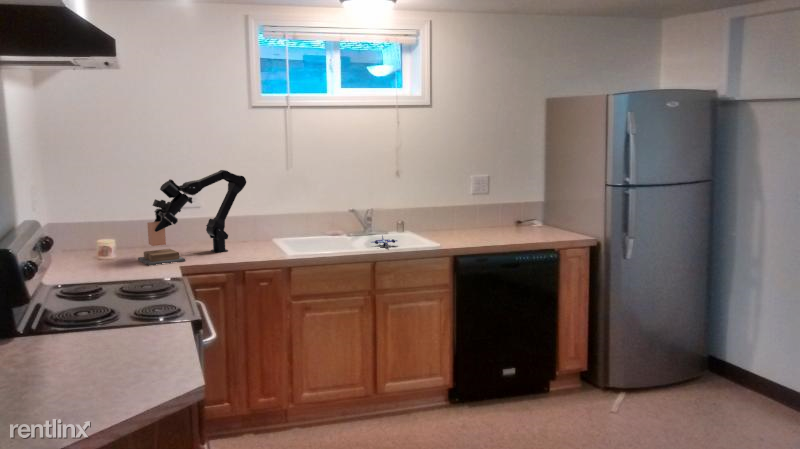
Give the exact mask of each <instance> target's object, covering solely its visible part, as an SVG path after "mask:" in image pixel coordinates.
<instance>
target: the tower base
mask: <svg viewBox="0 0 800 449" xmlns="http://www.w3.org/2000/svg"><path fill="white" fill-rule="evenodd" d="M137 259H138V261H139V262H141V263H144V264H145V265H147V264H148V265H147V266H149V265H153V266H157V265H156V264H161V265H163V264H162V263H169V264H172V263H171V262H177V263H183V262H186V258H184V257H182V256H180V252H179V251H177V250H173V249H171V248H165V249H155V250H154V249H153V250H146V251H143V256H140V257H137Z"/></svg>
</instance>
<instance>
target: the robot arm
mask: <svg viewBox="0 0 800 449" xmlns="http://www.w3.org/2000/svg"><path fill="white" fill-rule="evenodd" d="M223 180H224V181H226V182H227V192H226V194H225V197H224V198H223V200H222V202H221V205H220V207H219V209H218V211H217V214H216V215H215V216H214V218H209V219H208V223H207V224H206V225H205V227H206V228H205V231H206V234H208V235H209V238H210V239H212V246H213V247H212V249H210V251H211V252H213V253H223V252H229V250H228V249H226V240H228V239H229V234H228V233H227V232H226V231H225V228H226V224H225V223H226V219H227V217H228V215H229V213H230V211H231V208H232V207H233V204H234V202H235V200H236V197H238V194H240V192H242V191H243V189H244V188H245V186H246V185H247V179H246V177H245V176H243V175H238V174H235V173H232V172H231V171H229V170H226V169H220V170H219V171H216V172H213V173H211V174H209V175H207V176H205V177H203V178H200V179H196V180H189V181H185V182H183V184H181V185H178V184H177V183H176V182H174V180H173V179H169V180H167V181H165V182H164V183H163V184H161V186H160V188H159V190H160V191H161V192H162V194H164V195H165V196H167V197H168V198H169V199H172V200H170V201H167V200H165V199H160V200H159V199H154V201H153V203H152V206H153V207H156V209H155V210H154V216H155V218H154V221H153V222H159V221H160V222H159V224H158V225H157V227H156V229H155V231H156V232H157V231H159V230H161V229H164V228H165V229H167V227H170V226H173V225H177V223H178V218H177V216H176V215H177V214H178V213H181V212H182V210H181V209H182V208H184V206H185V205H186V204H187V203H189V204H193V197H191V196H196V195H197V194H198V193H200V192H201V191H202V190H203V189H205V188H206V187H209V186H210V185H214V184H215V183H218V182H220V181H223ZM188 195H189V196H188Z"/></svg>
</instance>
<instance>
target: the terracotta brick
mask: <svg viewBox="0 0 800 449" xmlns="http://www.w3.org/2000/svg"><path fill="white" fill-rule="evenodd" d="M159 222H160V221H159ZM159 222H154V221H149V222H147V223H146V224H147V225H146V226H147V237H148V245H149V246H152V247H155V246H156V247H157V246H164V245H167V239H166V228H164V229H161V230H159V231H157V232H156V231H155V229H156V227H157V225H158V224H159Z"/></svg>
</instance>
